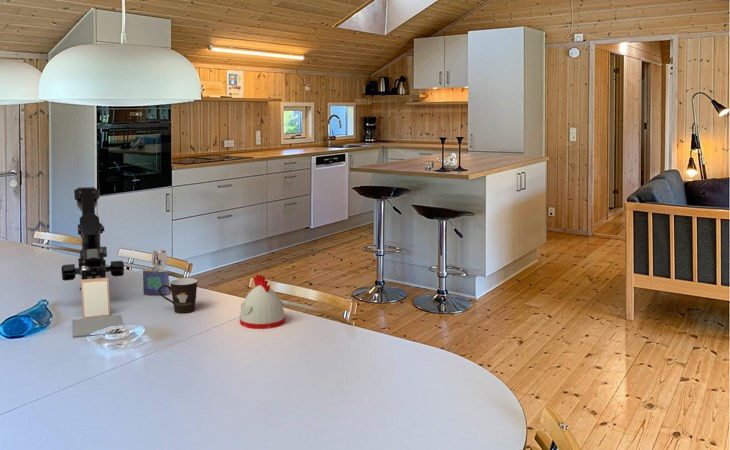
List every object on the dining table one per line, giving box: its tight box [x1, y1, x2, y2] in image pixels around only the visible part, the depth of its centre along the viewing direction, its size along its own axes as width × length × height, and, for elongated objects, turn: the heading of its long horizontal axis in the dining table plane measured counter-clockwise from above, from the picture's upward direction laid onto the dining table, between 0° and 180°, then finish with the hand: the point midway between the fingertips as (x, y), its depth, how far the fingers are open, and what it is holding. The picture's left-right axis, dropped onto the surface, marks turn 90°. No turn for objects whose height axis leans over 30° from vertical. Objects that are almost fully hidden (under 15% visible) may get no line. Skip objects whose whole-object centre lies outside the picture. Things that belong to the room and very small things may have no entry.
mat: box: [71, 314, 124, 339], centre depth 194 cm, size 16×14×1 cm
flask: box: [142, 265, 170, 297], centre depth 228 cm, size 9×3×11 cm, turn 87°
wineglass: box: [151, 249, 169, 270], centre depth 245 cm, size 6×6×12 cm
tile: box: [80, 277, 111, 319], centre depth 203 cm, size 3×8×12 cm, turn 115°
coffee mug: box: [159, 277, 198, 315], centre depth 211 cm, size 12×9×10 cm
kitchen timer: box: [239, 274, 286, 330], centre depth 200 cm, size 14×14×15 cm
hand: (94, 292), depth 206 cm, fingers closed
